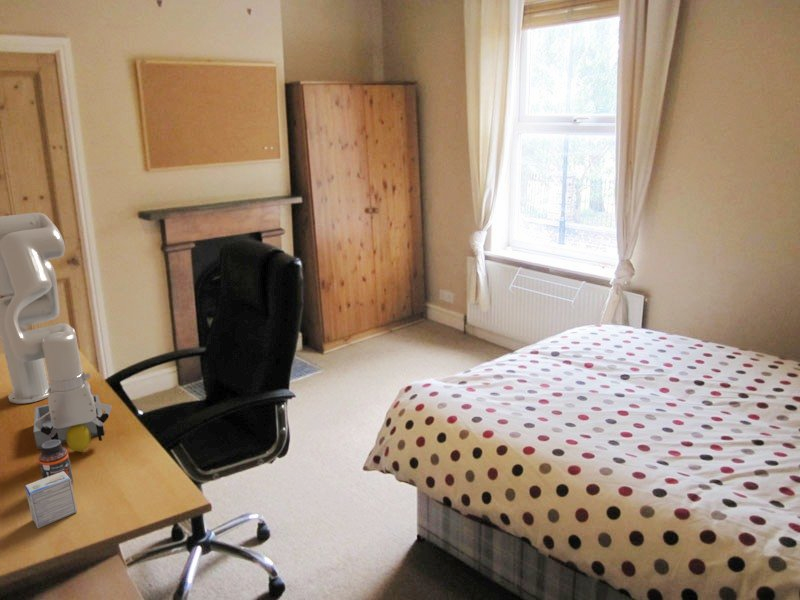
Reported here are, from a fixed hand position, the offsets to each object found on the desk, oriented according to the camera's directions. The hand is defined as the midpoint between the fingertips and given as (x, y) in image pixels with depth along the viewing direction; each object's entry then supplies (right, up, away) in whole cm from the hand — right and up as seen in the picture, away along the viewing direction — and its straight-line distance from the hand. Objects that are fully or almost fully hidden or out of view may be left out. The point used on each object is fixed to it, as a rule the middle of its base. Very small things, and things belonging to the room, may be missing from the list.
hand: (79, 443), depth 162 cm
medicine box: (+7, -10, -25) cm, 28 cm away
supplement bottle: (+3, -7, -14) cm, 16 cm away
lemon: (0, -2, +1) cm, 3 cm away
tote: (-9, +1, +13) cm, 15 cm away
